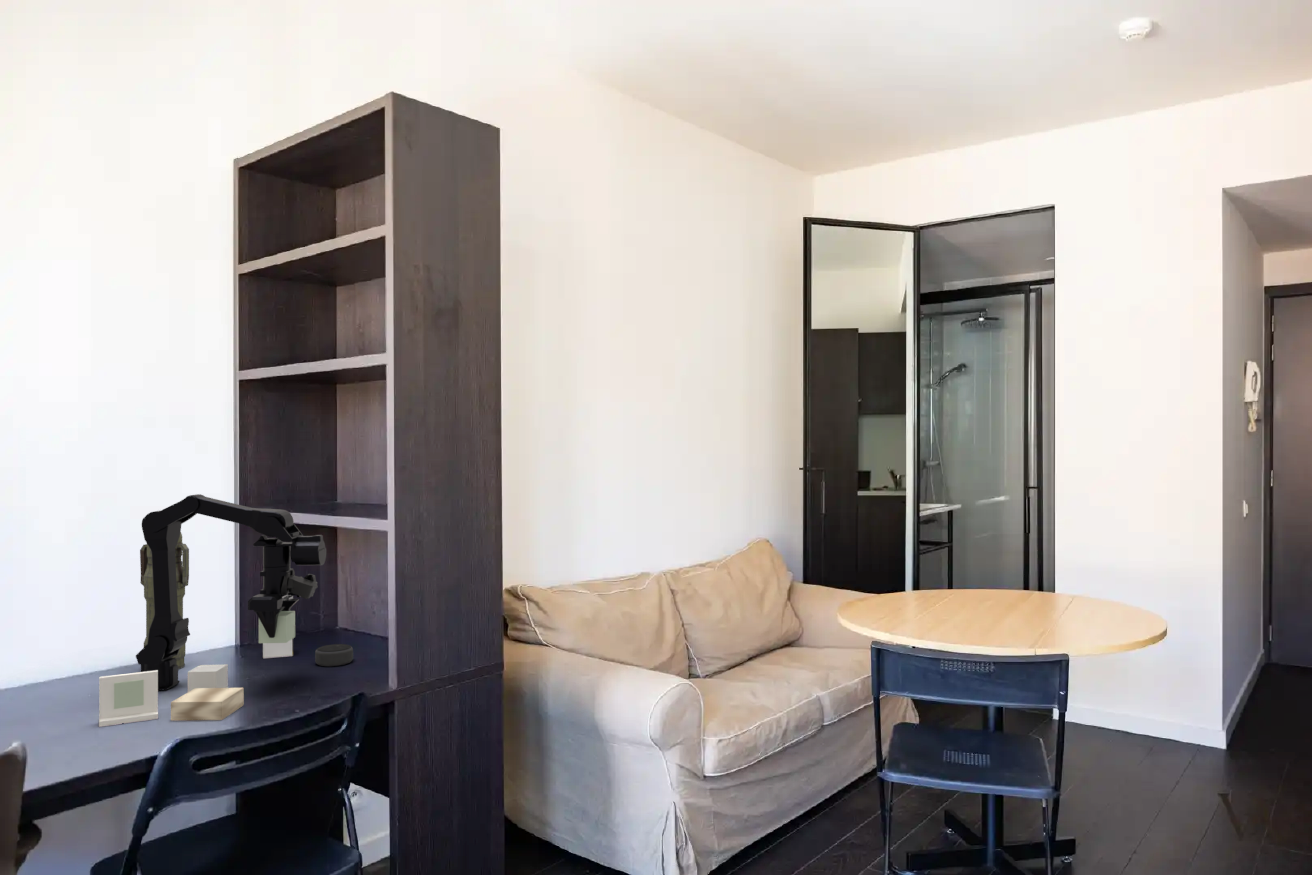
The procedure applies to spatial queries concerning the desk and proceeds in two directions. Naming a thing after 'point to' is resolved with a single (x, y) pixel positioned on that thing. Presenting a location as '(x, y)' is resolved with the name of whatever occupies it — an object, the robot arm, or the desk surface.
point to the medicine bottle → (278, 649)
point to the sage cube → (280, 629)
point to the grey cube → (208, 677)
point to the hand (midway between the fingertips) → (276, 634)
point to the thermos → (182, 581)
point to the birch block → (207, 704)
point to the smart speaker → (334, 655)
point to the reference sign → (128, 698)
